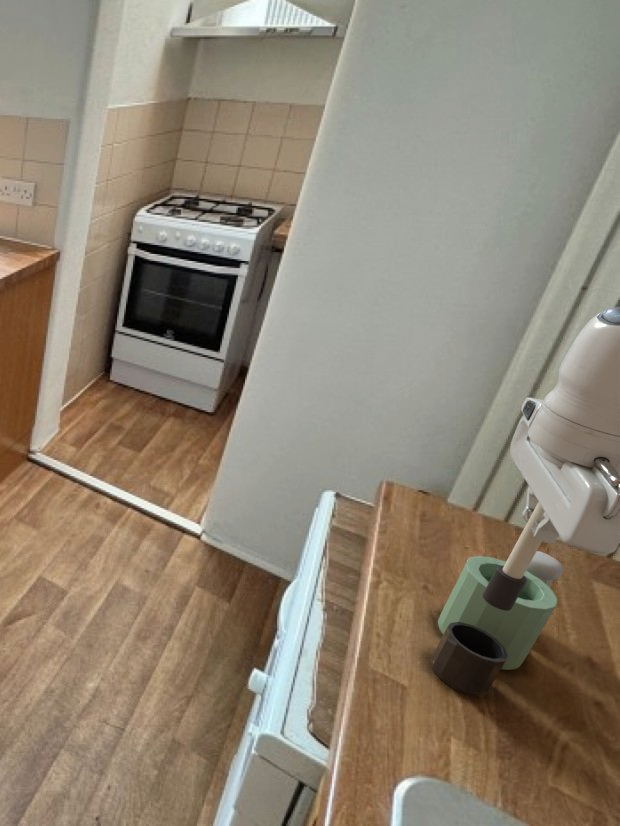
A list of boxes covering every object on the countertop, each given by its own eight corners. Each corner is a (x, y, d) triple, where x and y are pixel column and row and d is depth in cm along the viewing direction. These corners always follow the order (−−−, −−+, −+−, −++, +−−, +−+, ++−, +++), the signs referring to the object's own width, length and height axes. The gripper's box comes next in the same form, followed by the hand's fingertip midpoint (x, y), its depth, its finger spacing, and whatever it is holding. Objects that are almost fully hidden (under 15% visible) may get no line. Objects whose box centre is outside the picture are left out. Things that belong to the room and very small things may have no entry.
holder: (480, 669, 86) (499, 634, 83) (493, 706, 81) (514, 670, 78) (426, 648, 89) (443, 614, 86) (435, 683, 84) (453, 647, 81)
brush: (507, 599, 80) (563, 497, 74) (514, 614, 78) (572, 511, 71) (479, 589, 81) (532, 489, 75) (485, 604, 79) (540, 502, 73)
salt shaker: (482, 621, 93) (516, 557, 88) (483, 599, 97) (516, 537, 92) (536, 645, 89) (574, 580, 84) (535, 622, 93) (572, 558, 88)
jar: (510, 632, 91) (543, 573, 87) (531, 681, 84) (568, 620, 79) (431, 604, 96) (459, 547, 91) (445, 649, 88) (476, 589, 84)
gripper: (675, 500, 60) (611, 601, 65) (588, 406, 76) (542, 493, 81) (586, 477, 63) (531, 576, 68) (520, 392, 79) (480, 476, 84)
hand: (536, 530), depth 75 cm, fingers closed on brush, 2 cm apart
